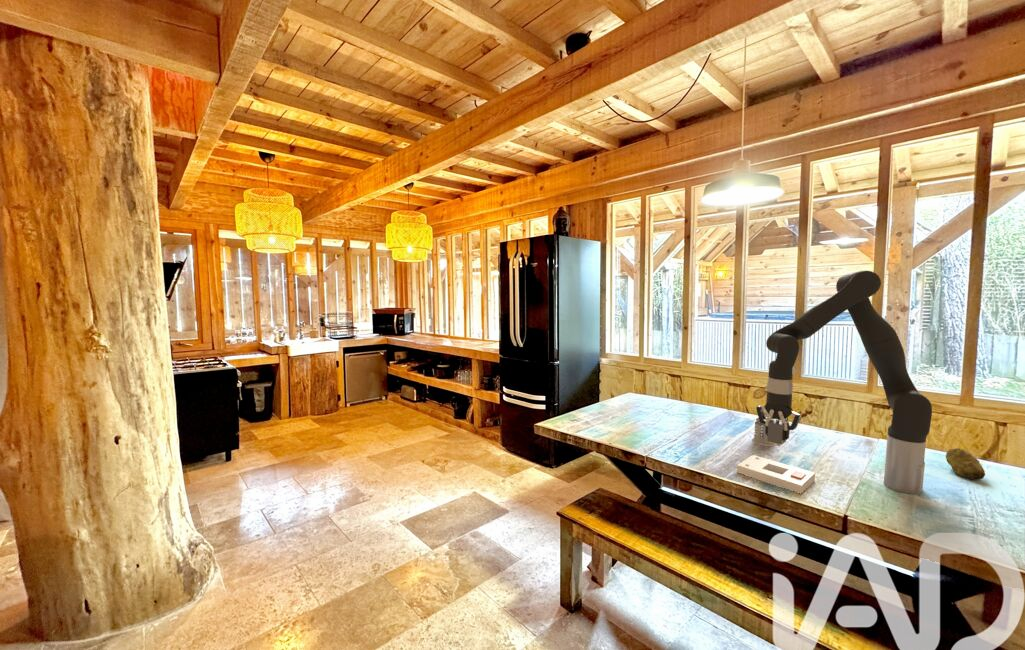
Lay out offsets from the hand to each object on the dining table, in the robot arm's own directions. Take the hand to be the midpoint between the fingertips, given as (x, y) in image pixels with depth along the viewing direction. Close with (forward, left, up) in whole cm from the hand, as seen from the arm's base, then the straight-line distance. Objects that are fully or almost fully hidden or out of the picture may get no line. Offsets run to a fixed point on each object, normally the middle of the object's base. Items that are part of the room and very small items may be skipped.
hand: (776, 437), depth 145 cm
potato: (-42, -54, -15) cm, 70 cm away
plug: (0, 0, -2) cm, 2 cm away
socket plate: (0, 0, -14) cm, 14 cm away
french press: (+15, -32, -15) cm, 38 cm away
